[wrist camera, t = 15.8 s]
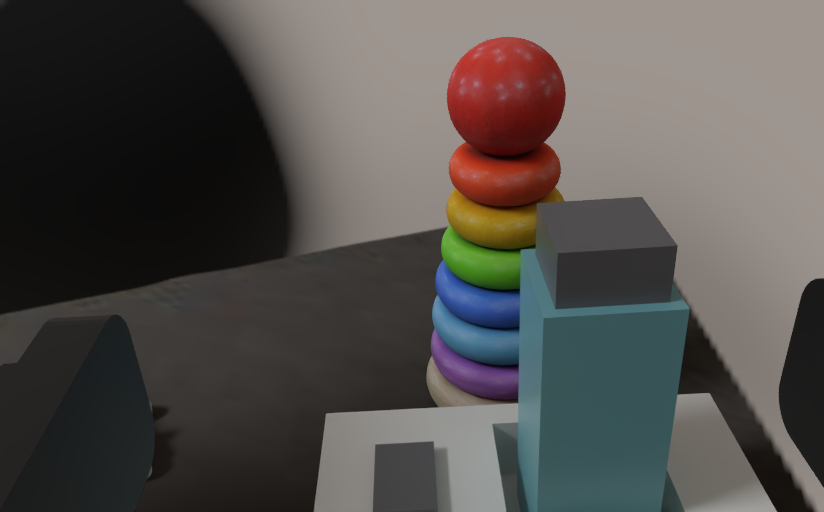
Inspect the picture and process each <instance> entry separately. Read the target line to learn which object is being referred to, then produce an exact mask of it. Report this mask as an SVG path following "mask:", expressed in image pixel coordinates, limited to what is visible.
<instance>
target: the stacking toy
mask: <svg viewBox="0 0 824 512" xmlns="http://www.w3.org/2000/svg"><path fill="white" fill-rule="evenodd" d="M447 103H448V110H449V114H450V118H451V120H452V122H453V125H454V127H455V128H456V130H457V131H458V133H459V134H460V135H461V137H462V138H463V139H464V140H465V141H466V142H465V143H464V144H462V145H461V146H460V147H458V148H457V150H456V151H455V152H454V153H453V155H452V157H451V159H450V162H449V174H450V178H451V181H452V183H453V185H454V186H455V189H454V190H453V192H452V193H451V195H450V197H449V199H448V202H447V210H446V211H447V218H448V221H449V223H450V226H449V227H448V228H447V230H446V231H445V233H444V235H443V238H442V244H441V252H442V256H443V259H444V260H443V261H442V262H441V264H440V266H439V267H438V270H437V273H436V279H435V283H436V290H437V293H438V295H437V297H436V299H435V302H434V305H433V311H432V318H433V324H434V327H435V329H434V331H433V335H432V338H431V352H432V357H431V358H430V361H429V363H428V367H427V385H428V389H429V392H430V394H431V397H432V398H433V400H434V402H435V403H436V404H437V406H438V407H457V406H476V405H495V404H514V403H518V393H519V331H520V269H521V250H523V249H536V216H537V203H552V202H565V201H564V199H563V197H562V195H561V194H560V192H559V191H558V190H557V189H556V188H555V186H556V184H557V183H558V180H559V177H560V173H561V171H560V170H561V167H560V161H559V158H558V157H557V155H556V153H555V152H554V150H553V149H552V148H551V147H550V146H548V145H547V144H545V143H544V141H546V139H547V138H548V137H549V136H550V135H551V134H552V133H553V131H554V130H555V128H556V127H557V125H558V123H559V121H560V119H561V116H562V113H563V109H564V105H565V84H564V80H563V76H562V73H561V70H560V68H559V67H558V65H557V63H556V62H555V60H554V59H553V57H552V56H551V55H550V54H549V53H548V52H546V51H545V50H544V49H543V48H541V47H540V46H538V45H537V44H535V43H533V42H531V41H527V40H525V39H521V38H514V37H501V38H496V39H491V40H487V41H485V42H482V43H480V44H478V45H477V46H475V47H474V48H472V49H471V50H469V51H468V52H467V53H466V54H465V55H464V56H463V57H462V58H461V59H460V61H459V62H458V63H457V65H456V66H455V68H454V70H453V72H452V75H451V77H450V80H449V84H448V90H447Z"/></svg>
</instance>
